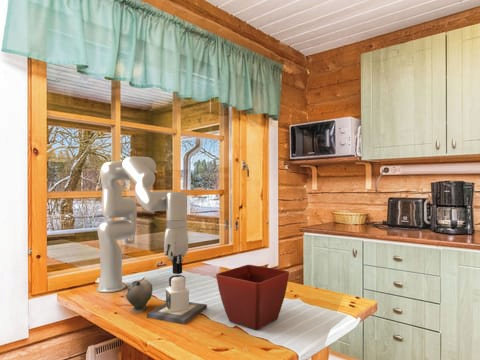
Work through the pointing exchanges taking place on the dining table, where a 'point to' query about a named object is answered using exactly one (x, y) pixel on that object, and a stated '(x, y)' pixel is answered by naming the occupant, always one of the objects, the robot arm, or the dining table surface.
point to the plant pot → (252, 294)
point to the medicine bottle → (177, 294)
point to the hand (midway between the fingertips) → (177, 273)
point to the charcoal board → (177, 313)
